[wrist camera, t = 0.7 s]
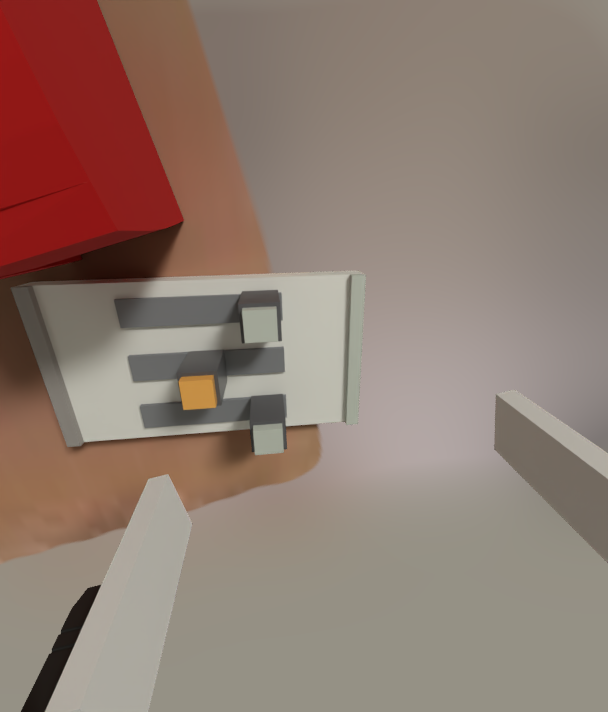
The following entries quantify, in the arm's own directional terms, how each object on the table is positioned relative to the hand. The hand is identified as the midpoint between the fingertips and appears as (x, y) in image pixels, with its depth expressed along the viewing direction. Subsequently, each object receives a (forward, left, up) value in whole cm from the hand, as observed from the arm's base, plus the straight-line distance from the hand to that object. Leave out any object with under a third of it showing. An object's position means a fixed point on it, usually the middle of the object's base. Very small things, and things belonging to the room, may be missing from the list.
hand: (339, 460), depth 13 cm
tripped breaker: (-8, -3, -17) cm, 19 cm away
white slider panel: (-8, -3, -20) cm, 22 cm away
